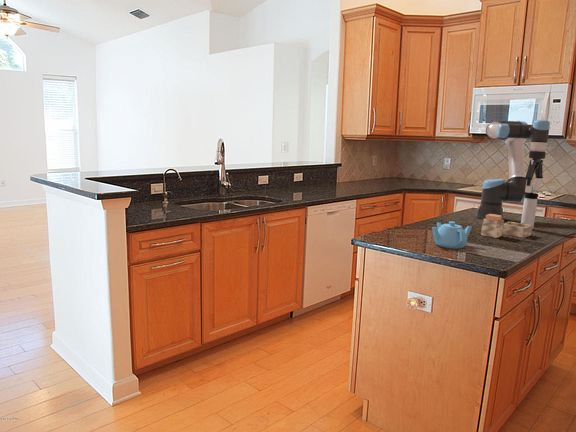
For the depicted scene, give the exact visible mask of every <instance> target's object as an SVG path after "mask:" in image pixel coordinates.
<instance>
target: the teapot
mask: <svg viewBox="0 0 576 432" xmlns="http://www.w3.org/2000/svg"><path fill="white" fill-rule="evenodd" d="M472 227H473V226H470V225H467V226H466V227H465V228H463V226H462V225H461V224H460V225H459V224H456V221H451V220H450V221H448V223H443V224H442V223H441V222H436V226H432V227H431V230H432V237H433V240H434V244H436V245H437V246H439V247H442V248H446V249H457V250H458V249H463V248H464V247H465V246H466V245H467V244H468V237H469V236H470V233H471V230H472Z"/></svg>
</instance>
